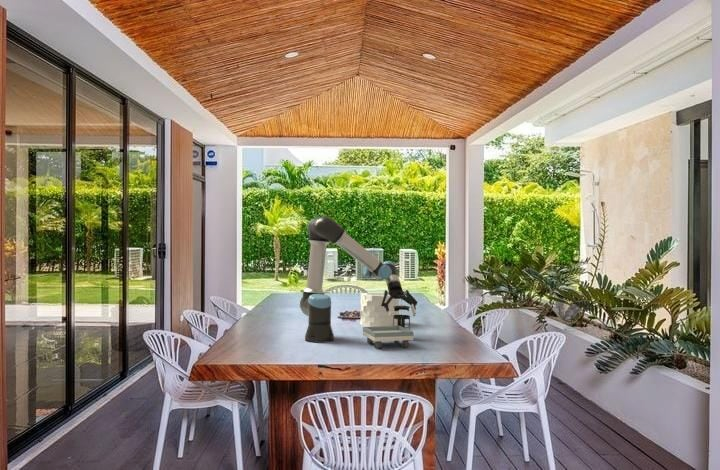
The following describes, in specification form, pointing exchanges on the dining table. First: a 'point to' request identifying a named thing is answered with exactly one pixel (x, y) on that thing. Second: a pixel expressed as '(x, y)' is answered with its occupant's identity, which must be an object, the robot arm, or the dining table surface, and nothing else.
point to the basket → (377, 310)
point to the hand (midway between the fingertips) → (402, 315)
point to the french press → (401, 317)
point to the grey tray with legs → (387, 335)
